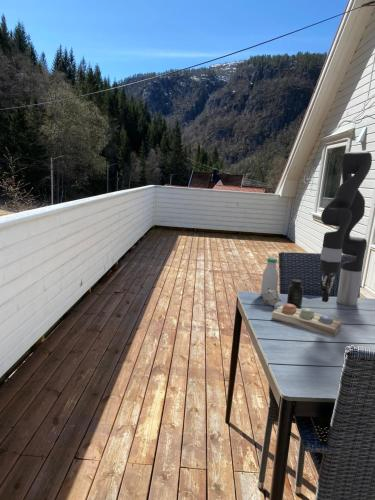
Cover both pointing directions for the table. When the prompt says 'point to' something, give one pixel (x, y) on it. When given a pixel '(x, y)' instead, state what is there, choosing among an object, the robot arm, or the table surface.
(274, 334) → the table surface
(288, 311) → the terracotta button
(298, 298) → the supplement bottle
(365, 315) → the table surface
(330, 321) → the slate button
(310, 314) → the sage button
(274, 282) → the milk bottle
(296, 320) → the button panel
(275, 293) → the game die
